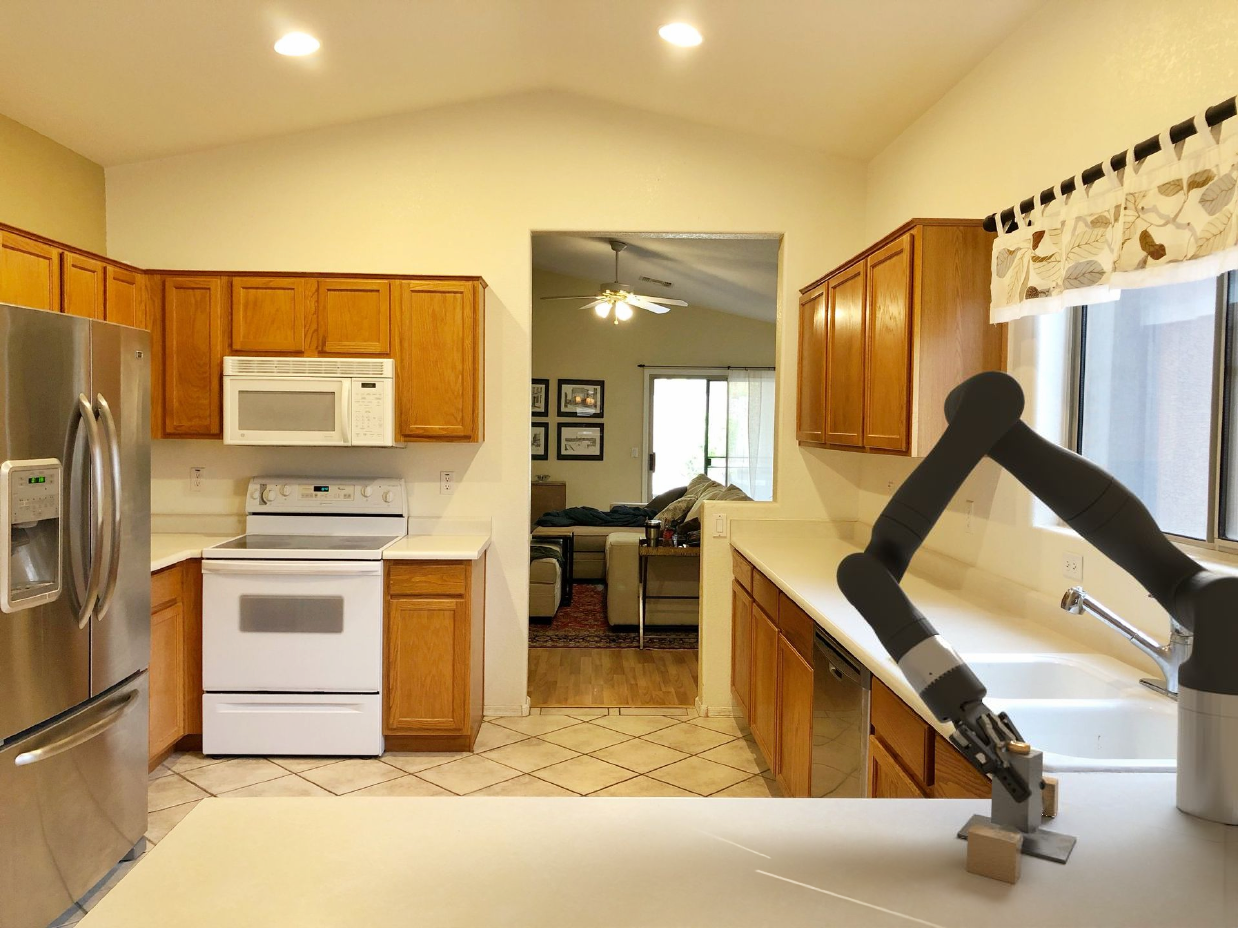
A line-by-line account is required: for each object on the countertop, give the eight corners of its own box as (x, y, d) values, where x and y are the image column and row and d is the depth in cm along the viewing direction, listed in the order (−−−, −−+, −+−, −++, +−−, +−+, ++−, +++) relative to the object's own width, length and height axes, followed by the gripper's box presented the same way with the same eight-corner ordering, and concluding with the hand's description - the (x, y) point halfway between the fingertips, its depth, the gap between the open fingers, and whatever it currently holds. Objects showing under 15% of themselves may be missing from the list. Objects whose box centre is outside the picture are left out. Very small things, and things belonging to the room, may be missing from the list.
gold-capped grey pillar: (990, 822, 107) (993, 742, 107) (1004, 814, 110) (1006, 737, 110) (1027, 833, 104) (1029, 751, 104) (1041, 824, 107) (1043, 745, 107)
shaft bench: (991, 797, 122) (991, 765, 122) (1086, 818, 115) (1087, 784, 115) (934, 862, 98) (935, 823, 99) (1050, 893, 92) (1051, 851, 92)
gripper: (936, 667, 108) (1035, 791, 99) (983, 656, 118) (1077, 767, 109) (895, 701, 112) (987, 824, 102) (944, 687, 122) (1032, 798, 113)
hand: (1033, 794), depth 106 cm, fingers closed on gold-capped grey pillar, 4 cm apart
